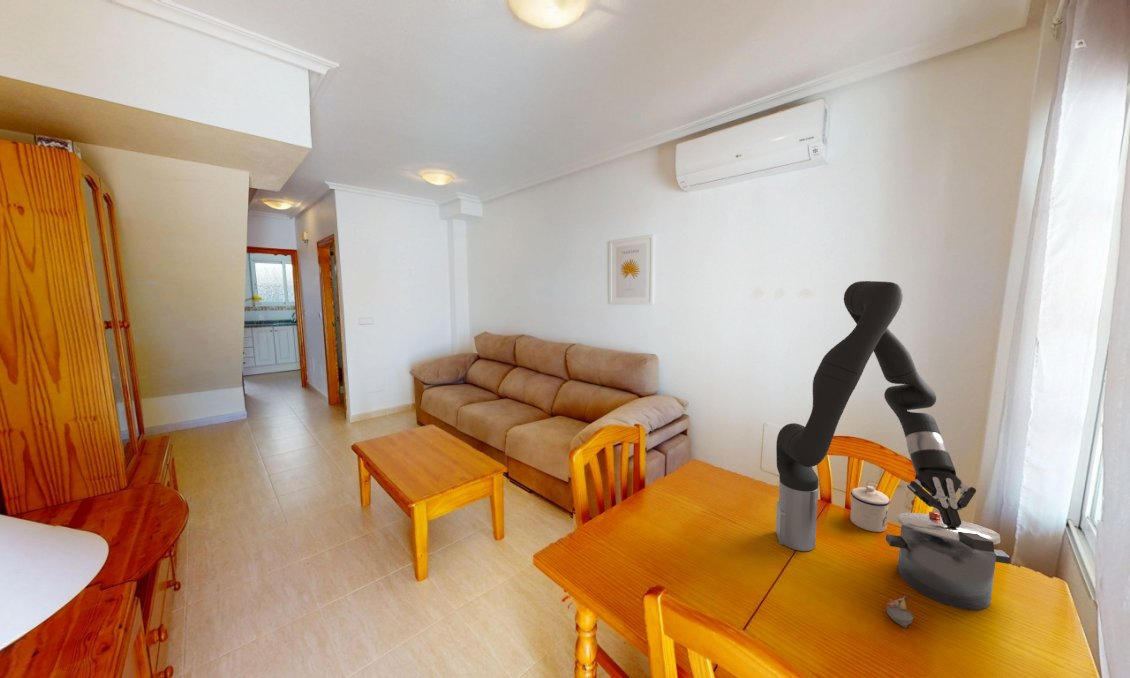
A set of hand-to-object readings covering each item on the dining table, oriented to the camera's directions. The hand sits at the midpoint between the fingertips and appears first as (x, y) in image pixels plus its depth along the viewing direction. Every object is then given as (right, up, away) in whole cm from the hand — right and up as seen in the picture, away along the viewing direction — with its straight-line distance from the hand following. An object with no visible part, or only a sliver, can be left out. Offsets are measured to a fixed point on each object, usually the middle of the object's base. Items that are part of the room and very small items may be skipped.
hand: (953, 527), depth 89 cm
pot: (+1, -15, +4) cm, 16 cm away
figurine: (-17, -18, -5) cm, 25 cm away
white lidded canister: (+3, -12, +29) cm, 32 cm away
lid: (0, -2, +1) cm, 2 cm away
